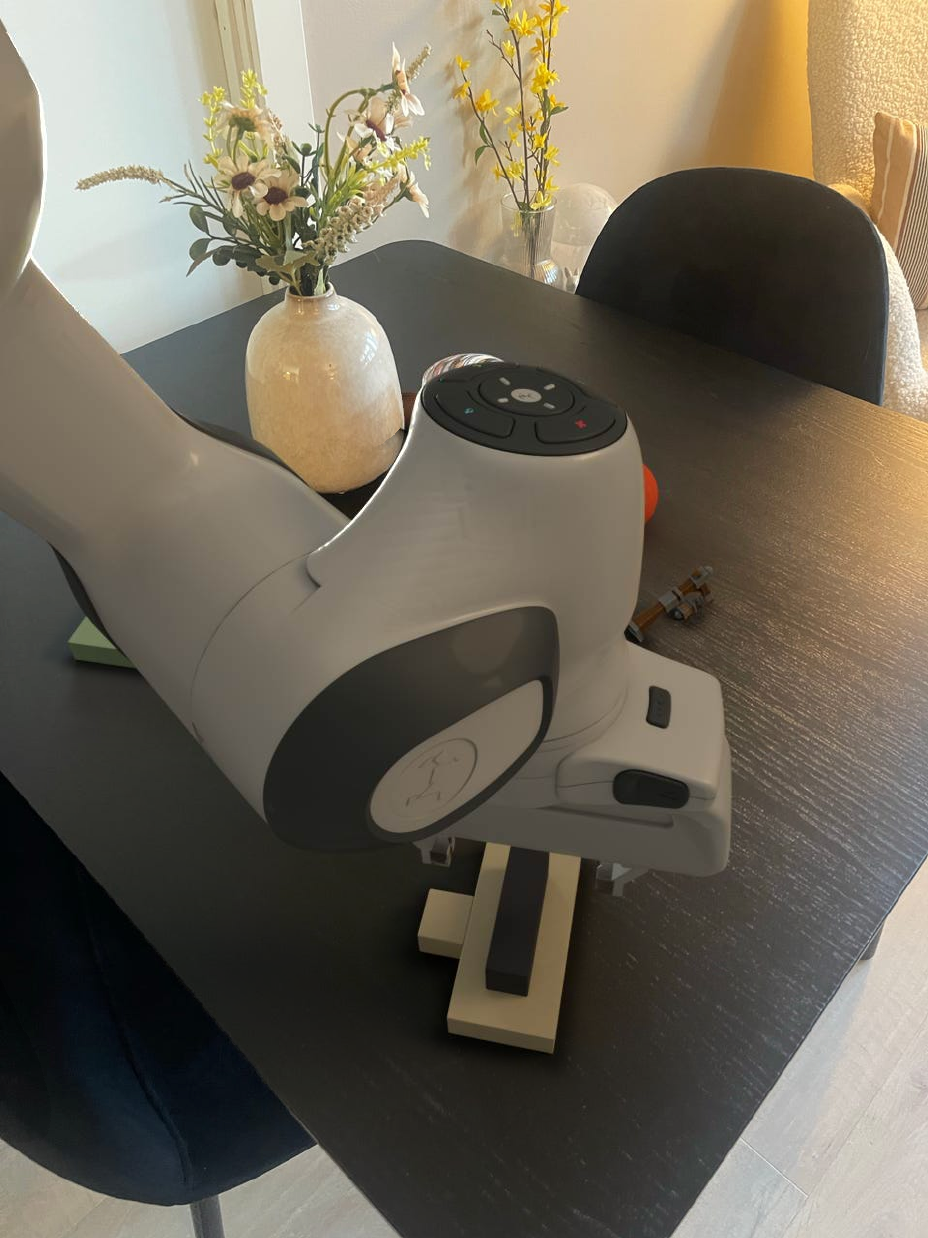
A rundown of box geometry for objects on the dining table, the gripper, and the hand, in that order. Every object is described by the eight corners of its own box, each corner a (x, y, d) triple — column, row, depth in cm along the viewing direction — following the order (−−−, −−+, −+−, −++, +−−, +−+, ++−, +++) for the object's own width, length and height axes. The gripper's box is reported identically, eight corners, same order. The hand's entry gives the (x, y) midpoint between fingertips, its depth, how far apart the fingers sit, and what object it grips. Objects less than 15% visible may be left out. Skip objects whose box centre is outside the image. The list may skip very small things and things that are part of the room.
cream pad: (552, 1054, 53) (555, 1020, 50) (400, 1023, 55) (394, 988, 51) (579, 867, 61) (583, 828, 58) (447, 845, 63) (444, 805, 60)
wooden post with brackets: (727, 599, 78) (716, 568, 74) (649, 658, 78) (634, 629, 74) (713, 586, 79) (702, 555, 75) (636, 644, 79) (621, 615, 75)
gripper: (280, 727, 42) (324, 887, 52) (756, 798, 39) (708, 956, 48) (324, 627, 46) (357, 792, 56) (756, 682, 43) (712, 849, 53)
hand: (522, 868), depth 52 cm, fingers open, 8 cm apart
